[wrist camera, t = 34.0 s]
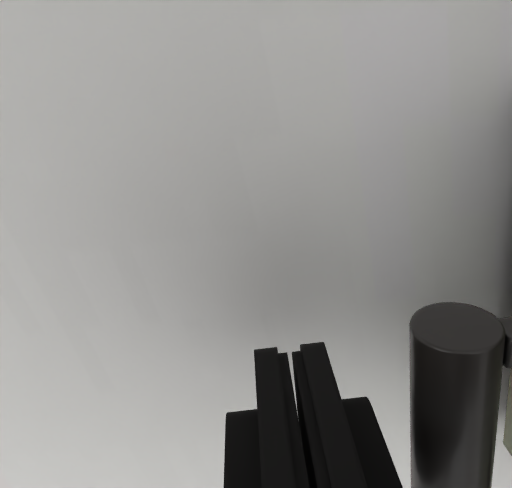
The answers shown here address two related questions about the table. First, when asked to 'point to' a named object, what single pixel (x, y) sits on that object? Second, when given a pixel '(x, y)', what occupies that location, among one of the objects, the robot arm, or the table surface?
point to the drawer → (457, 394)
